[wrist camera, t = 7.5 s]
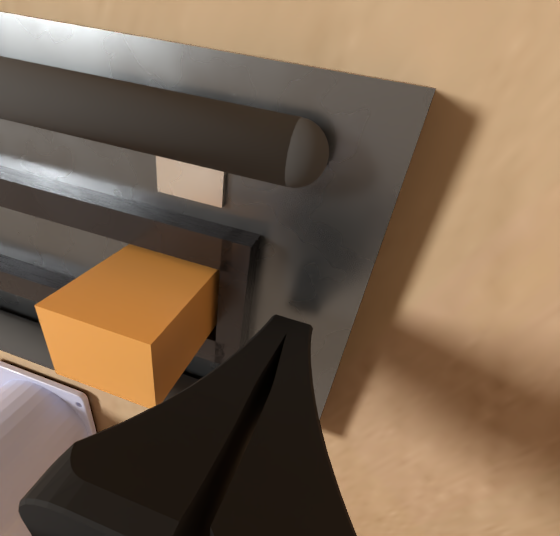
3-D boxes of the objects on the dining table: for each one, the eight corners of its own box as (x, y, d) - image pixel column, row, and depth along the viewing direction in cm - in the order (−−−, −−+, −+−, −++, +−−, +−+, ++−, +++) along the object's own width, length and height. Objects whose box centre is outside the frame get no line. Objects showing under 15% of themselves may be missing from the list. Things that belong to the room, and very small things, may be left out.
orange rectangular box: (219, 320, 14) (156, 411, 10) (142, 295, 14) (55, 373, 11) (223, 263, 12) (150, 344, 9) (137, 238, 13) (34, 305, 9)
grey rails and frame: (272, 421, 16) (260, 456, 15) (-48, 306, 19) (-85, 325, 18) (340, 120, 9) (330, 129, 8) (-190, 14, 12) (-272, 5, 11)
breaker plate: (315, 422, 18) (305, 468, 16) (-42, 296, 22) (-88, 320, 20) (430, 86, 9) (441, 90, 7) (-191, -23, 13) (-300, -41, 11)
